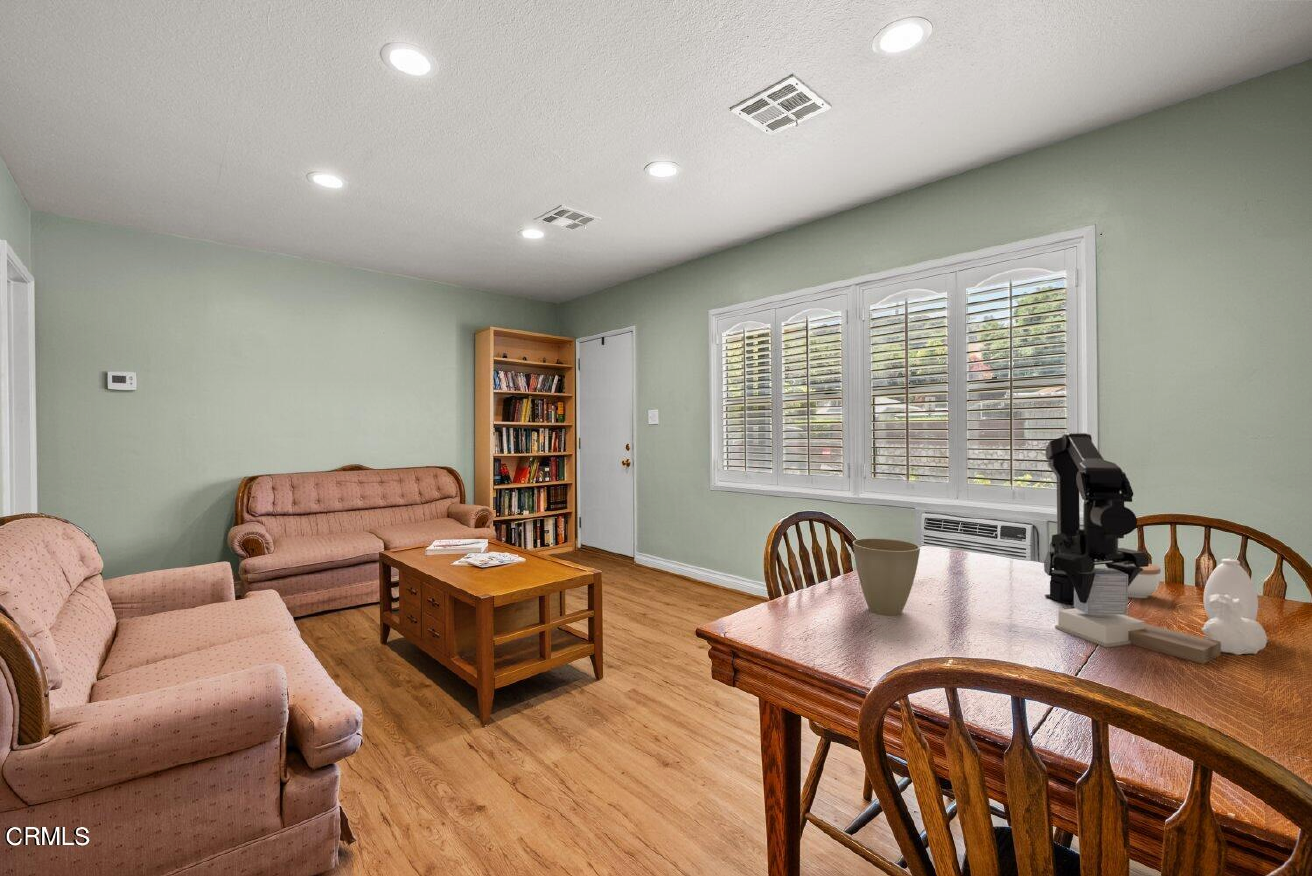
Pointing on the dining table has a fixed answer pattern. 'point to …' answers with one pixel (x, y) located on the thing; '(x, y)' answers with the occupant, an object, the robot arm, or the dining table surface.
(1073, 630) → the block
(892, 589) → the plant pot
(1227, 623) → the duck figurine
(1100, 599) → the medicine box
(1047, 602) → the dining table surface
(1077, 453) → the robot arm
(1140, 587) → the lidded jar
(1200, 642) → the grey-brown long grooved block
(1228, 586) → the sauce bottle
